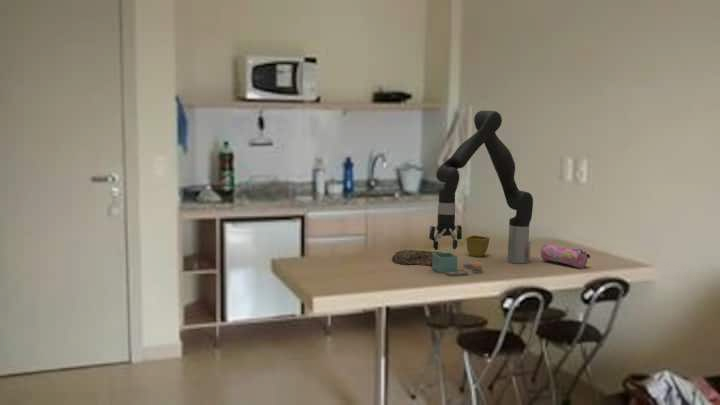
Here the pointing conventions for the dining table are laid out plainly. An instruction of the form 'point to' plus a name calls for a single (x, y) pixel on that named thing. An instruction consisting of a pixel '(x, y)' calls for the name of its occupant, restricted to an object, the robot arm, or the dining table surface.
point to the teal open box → (444, 262)
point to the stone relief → (413, 257)
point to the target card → (456, 273)
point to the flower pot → (477, 245)
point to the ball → (477, 266)
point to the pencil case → (564, 255)
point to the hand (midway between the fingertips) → (445, 249)
